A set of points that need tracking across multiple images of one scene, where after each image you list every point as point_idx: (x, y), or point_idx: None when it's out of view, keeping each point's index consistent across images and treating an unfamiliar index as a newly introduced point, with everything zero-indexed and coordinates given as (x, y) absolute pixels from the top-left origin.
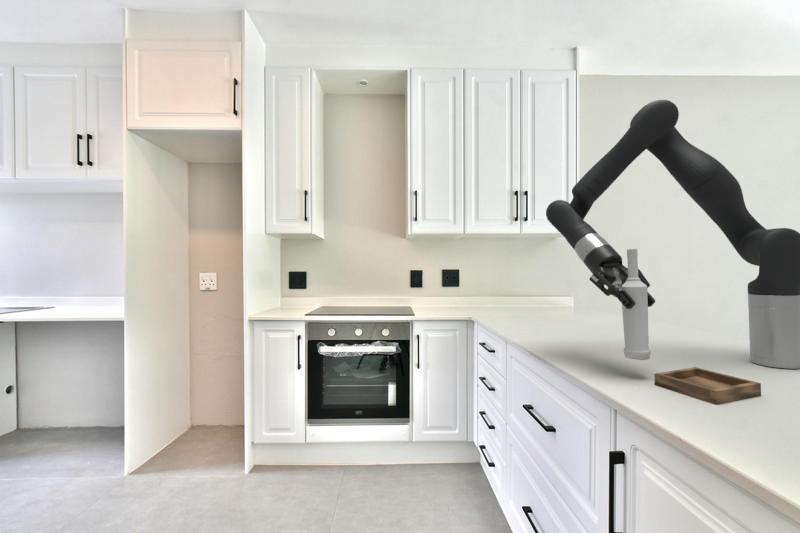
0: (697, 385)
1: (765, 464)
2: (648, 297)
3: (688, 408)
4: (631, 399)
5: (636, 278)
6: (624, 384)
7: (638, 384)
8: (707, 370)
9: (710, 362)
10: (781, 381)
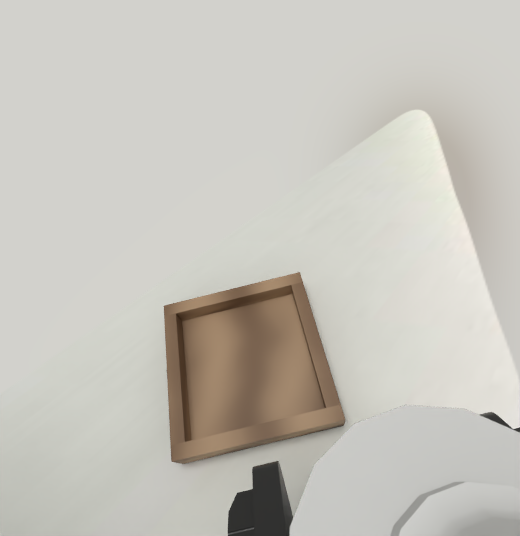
0: (305, 309)
1: (395, 139)
2: (285, 507)
3: (369, 275)
4: (467, 331)
5: (499, 498)
6: None
7: None
8: (172, 419)
9: None
10: (30, 391)
